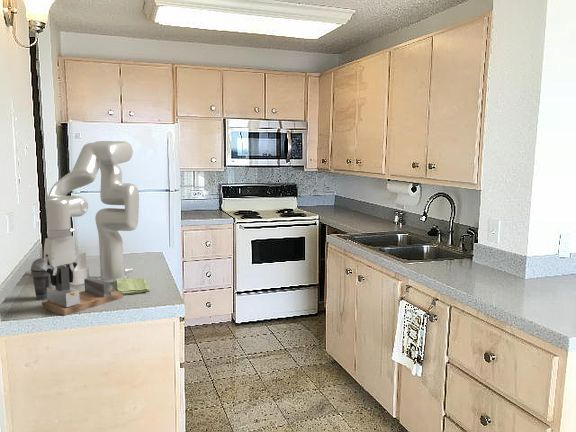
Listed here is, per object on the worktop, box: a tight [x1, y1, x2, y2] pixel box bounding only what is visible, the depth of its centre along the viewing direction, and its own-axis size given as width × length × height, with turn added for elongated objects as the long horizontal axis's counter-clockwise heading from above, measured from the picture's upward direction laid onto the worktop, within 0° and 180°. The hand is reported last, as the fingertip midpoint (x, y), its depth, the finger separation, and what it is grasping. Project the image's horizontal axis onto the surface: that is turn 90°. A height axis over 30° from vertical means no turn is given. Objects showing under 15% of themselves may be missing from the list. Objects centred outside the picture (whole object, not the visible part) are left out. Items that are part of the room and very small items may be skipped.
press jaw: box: [46, 265, 80, 307], centre depth 171 cm, size 5×13×13 cm, turn 56°
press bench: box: [41, 277, 124, 316], centre depth 178 cm, size 24×14×7 cm, turn 146°
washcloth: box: [113, 277, 151, 296], centre depth 197 cm, size 13×18×3 cm
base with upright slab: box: [70, 251, 90, 286], centre depth 205 cm, size 9×9×12 cm
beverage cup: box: [30, 247, 51, 301], centre depth 182 cm, size 7×7×20 cm
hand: (62, 283), depth 171 cm, fingers open, 4 cm apart
